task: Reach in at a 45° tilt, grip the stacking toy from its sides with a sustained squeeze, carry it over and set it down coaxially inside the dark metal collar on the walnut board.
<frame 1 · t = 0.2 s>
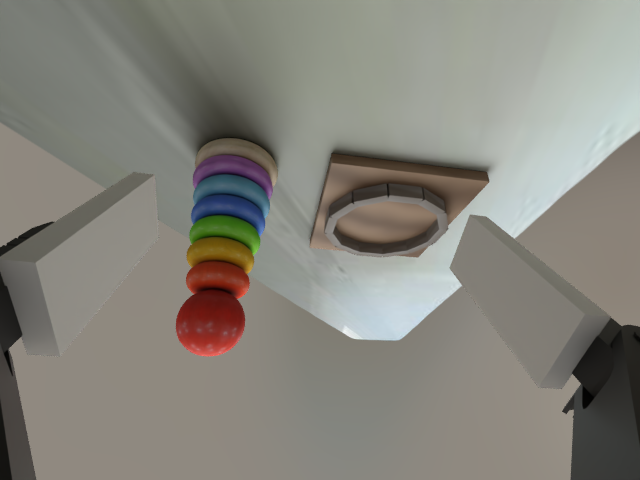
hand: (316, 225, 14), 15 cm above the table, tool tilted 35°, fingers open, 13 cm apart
stacking toy: (239, 161, 34), on the table
collar board: (383, 212, 41), on the table
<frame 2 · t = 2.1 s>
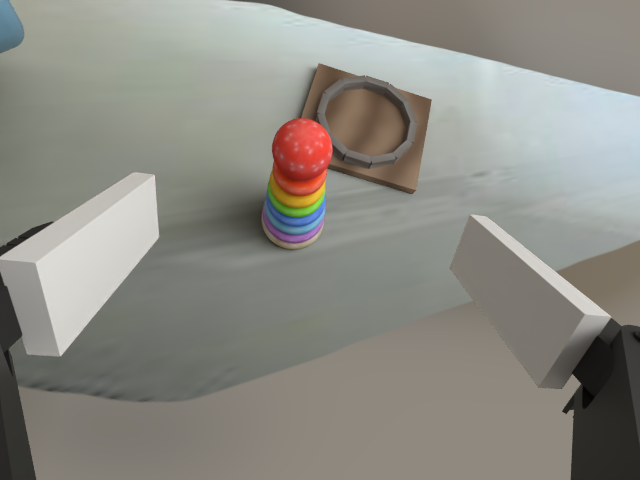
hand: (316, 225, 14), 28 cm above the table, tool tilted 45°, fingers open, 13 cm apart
stacking toy: (292, 221, 44), on the table
collar board: (363, 129, 49), on the table
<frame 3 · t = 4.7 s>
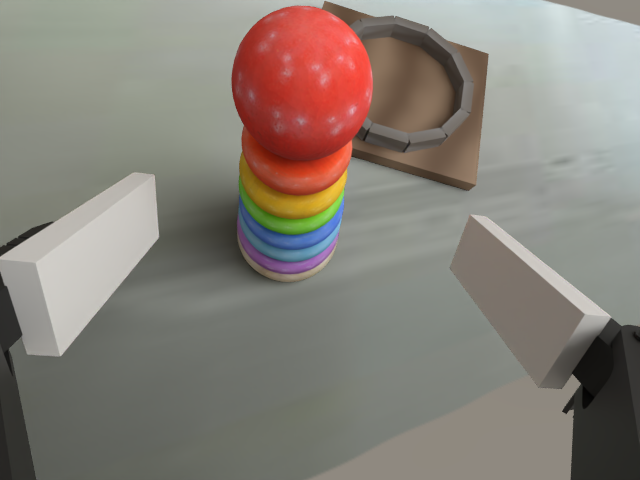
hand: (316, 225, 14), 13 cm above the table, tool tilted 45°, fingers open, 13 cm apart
stacking toy: (287, 236, 28), on the table
collar board: (391, 95, 33), on the table
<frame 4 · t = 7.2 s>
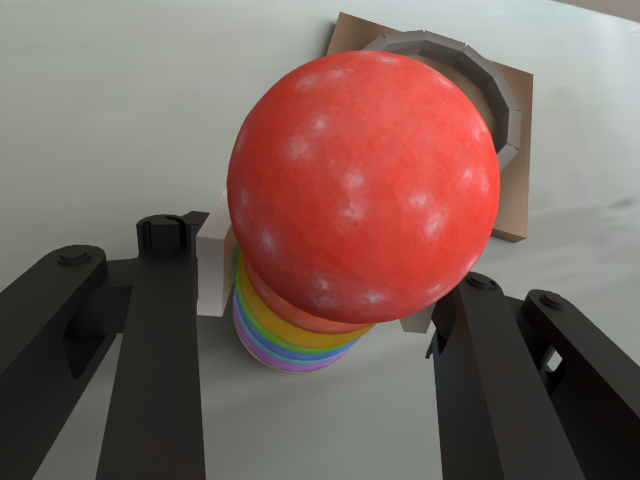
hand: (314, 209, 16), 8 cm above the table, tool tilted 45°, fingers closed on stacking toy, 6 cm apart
stacking toy: (296, 306, 22), on the table, touching gripper
collar board: (419, 125, 28), on the table
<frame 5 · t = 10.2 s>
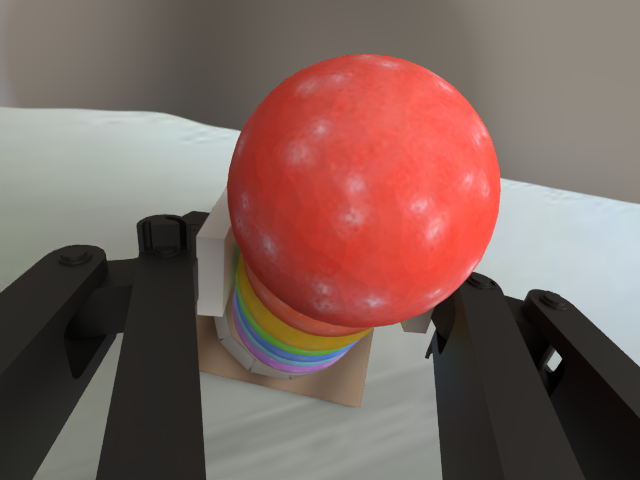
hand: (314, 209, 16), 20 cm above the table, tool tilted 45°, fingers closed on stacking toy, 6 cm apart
stacking toy: (296, 308, 22), point 13 cm above the table, touching gripper
collar board: (287, 302, 35), on the table
when the fingers open (10 cm above the table, at t = 13.5 s): stacking toy drops 1 cm, resting on collar board.
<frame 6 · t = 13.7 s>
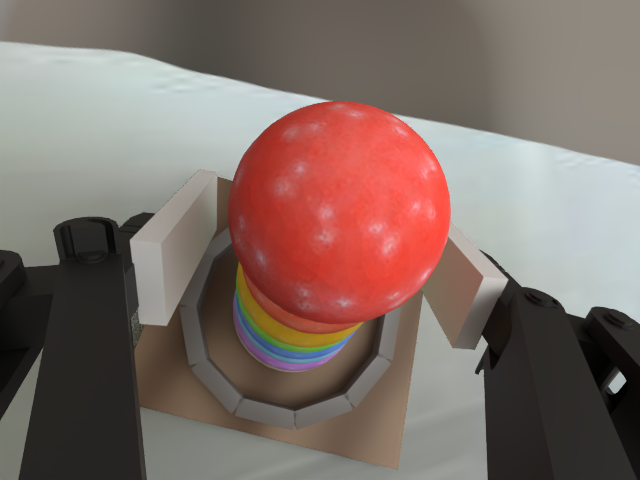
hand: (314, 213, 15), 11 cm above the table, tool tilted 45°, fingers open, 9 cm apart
stacking toy: (293, 309, 23), point 1 cm above the table, touching collar board
collar board: (292, 310, 24), on the table
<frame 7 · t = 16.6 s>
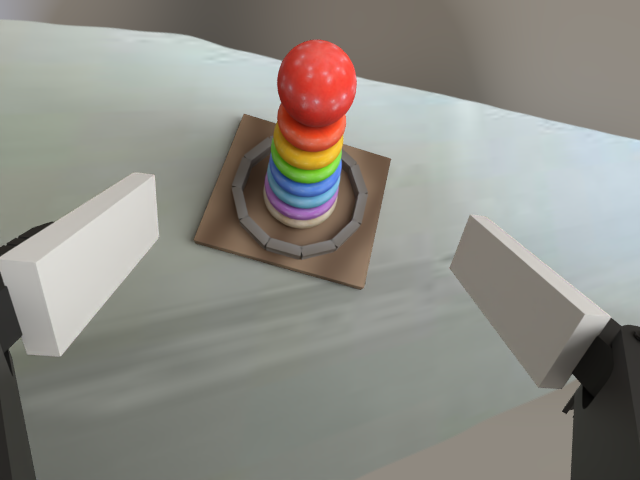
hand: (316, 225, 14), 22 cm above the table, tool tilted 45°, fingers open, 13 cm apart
stacking toy: (300, 197, 37), point 1 cm above the table, touching collar board
collar board: (299, 200, 38), on the table
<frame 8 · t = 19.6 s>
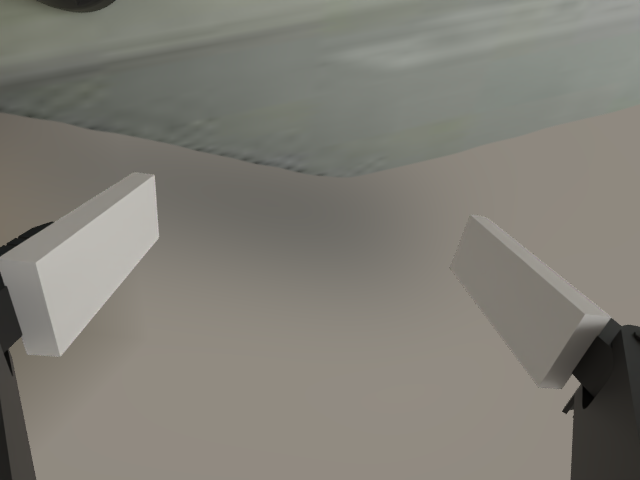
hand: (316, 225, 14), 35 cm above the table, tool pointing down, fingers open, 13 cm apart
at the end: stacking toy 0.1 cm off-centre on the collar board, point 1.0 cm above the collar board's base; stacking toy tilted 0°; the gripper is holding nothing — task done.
